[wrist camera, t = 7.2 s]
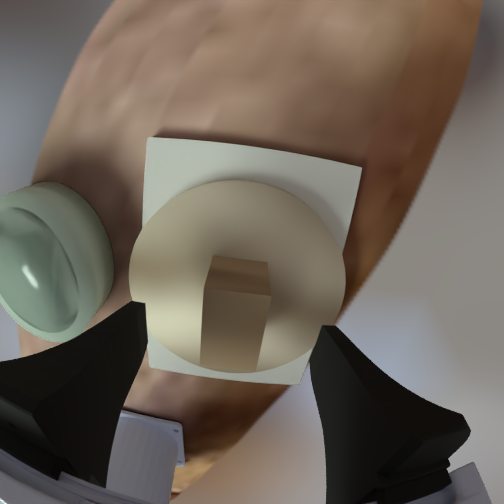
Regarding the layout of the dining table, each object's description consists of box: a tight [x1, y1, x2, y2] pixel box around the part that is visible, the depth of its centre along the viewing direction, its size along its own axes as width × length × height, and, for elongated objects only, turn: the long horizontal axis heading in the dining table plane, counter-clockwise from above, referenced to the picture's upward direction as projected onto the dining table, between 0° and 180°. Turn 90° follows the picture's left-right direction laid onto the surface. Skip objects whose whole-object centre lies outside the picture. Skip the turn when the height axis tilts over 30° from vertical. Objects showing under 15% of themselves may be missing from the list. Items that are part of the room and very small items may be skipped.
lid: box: [129, 179, 346, 373], centre depth 13 cm, size 11×11×4 cm
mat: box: [142, 137, 362, 385], centre depth 15 cm, size 14×10×1 cm
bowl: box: [0, 181, 114, 342], centre depth 13 cm, size 9×9×3 cm
